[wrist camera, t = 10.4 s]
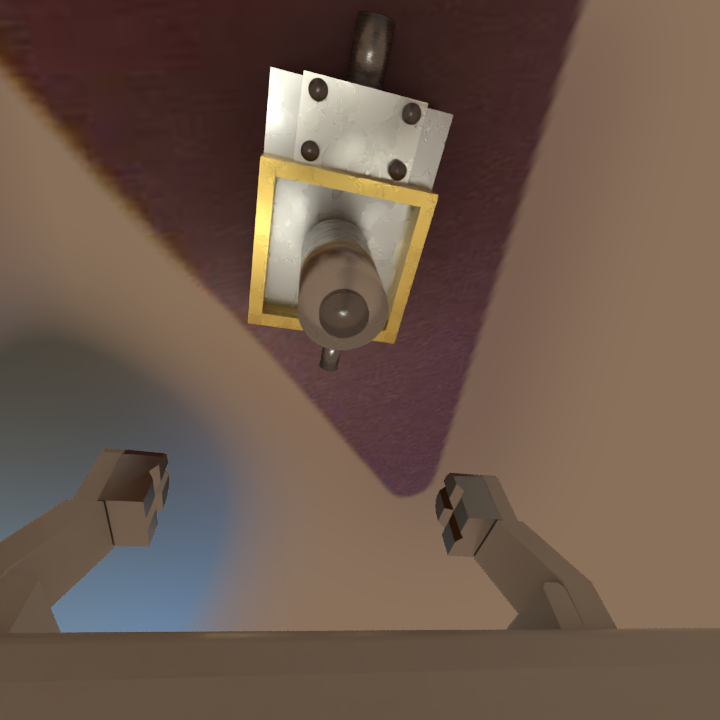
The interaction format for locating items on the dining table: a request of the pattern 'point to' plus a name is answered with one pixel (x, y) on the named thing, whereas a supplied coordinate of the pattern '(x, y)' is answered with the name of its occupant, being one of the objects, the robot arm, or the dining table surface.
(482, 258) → the dining table surface
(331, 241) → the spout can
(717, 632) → the robot arm
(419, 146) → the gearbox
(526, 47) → the dining table surface
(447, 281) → the dining table surface
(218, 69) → the dining table surface
